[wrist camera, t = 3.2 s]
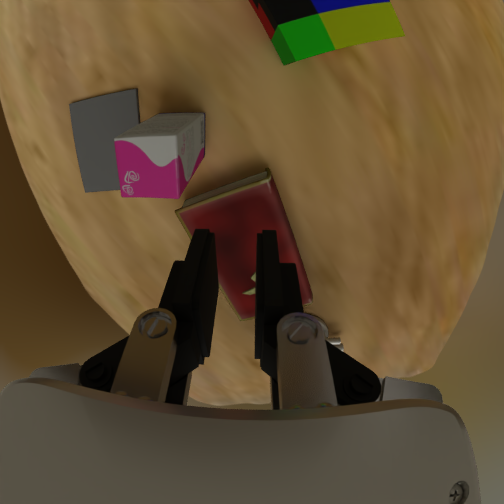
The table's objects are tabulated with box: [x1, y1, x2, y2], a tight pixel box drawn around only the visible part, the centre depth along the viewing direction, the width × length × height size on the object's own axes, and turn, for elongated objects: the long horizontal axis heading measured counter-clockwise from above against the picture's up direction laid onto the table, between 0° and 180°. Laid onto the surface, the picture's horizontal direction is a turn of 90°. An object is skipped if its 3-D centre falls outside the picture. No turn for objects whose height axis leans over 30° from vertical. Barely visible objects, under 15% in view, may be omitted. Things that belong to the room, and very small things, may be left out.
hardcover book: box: [175, 168, 313, 321], centre depth 38 cm, size 12×21×4 cm, turn 20°
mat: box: [69, 89, 140, 193], centre depth 30 cm, size 10×13×1 cm
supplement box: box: [114, 113, 205, 199], centre depth 25 cm, size 6×6×12 cm
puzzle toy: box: [249, 0, 405, 65], centre depth 17 cm, size 10×10×10 cm
